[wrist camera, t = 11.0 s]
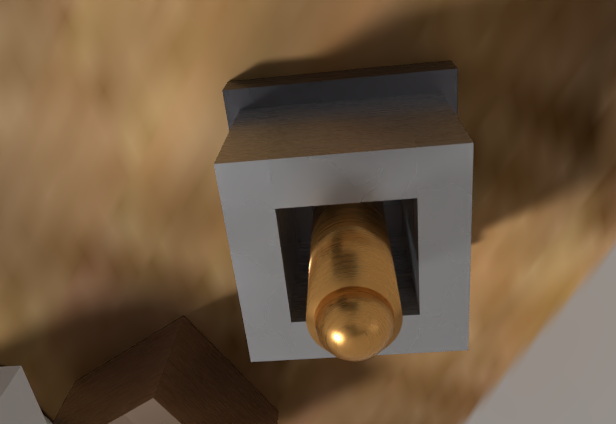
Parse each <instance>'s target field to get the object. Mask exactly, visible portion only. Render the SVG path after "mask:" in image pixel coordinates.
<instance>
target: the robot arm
mask: <svg viewBox="0 0 616 424" xmlns="http://www.w3.org/2000/svg"><path fill="white" fill-rule="evenodd" d="M0 424H47V423H46V420H45V418H44V416H43V414H42V411H41V409H40V407H39V405H38V402H37V400H36V398H35V396H34V393H33V391H32V389H31V386H30V384H29V382H28V380H27V377H26V375H25V373H24V371H23V368H22V366H4V367H0Z"/></svg>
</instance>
